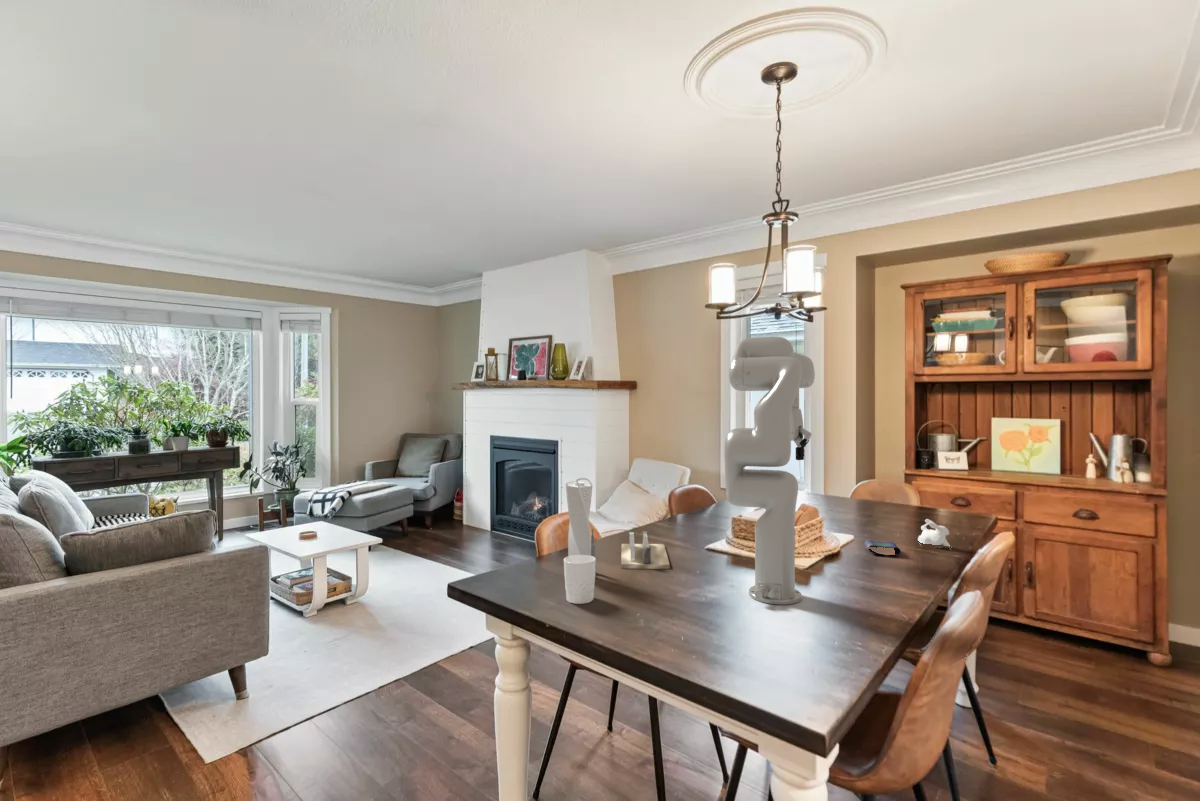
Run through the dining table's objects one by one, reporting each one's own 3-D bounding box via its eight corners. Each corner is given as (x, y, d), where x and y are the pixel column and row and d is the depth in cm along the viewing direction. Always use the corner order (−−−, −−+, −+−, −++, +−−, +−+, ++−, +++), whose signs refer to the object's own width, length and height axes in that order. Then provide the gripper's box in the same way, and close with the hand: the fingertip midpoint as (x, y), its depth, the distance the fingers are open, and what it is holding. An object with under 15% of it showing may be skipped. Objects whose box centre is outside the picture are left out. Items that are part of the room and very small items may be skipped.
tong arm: (633, 546, 188) (633, 532, 188) (634, 561, 170) (634, 546, 170) (629, 546, 188) (629, 532, 188) (630, 561, 170) (629, 546, 170)
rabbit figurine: (957, 551, 185) (957, 521, 185) (940, 554, 182) (940, 523, 182) (924, 543, 196) (924, 514, 196) (908, 545, 194) (908, 516, 194)
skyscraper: (595, 582, 156) (594, 478, 156) (565, 582, 156) (564, 478, 156) (596, 573, 164) (595, 474, 164) (567, 573, 164) (567, 474, 164)
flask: (868, 544, 180) (863, 538, 190) (868, 554, 180) (863, 547, 190) (901, 547, 178) (894, 540, 188) (901, 557, 177) (894, 549, 188)
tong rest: (663, 548, 191) (663, 530, 191) (669, 569, 167) (669, 549, 167) (621, 548, 191) (621, 530, 191) (621, 569, 167) (621, 548, 167)
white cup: (597, 594, 146) (597, 554, 146) (594, 605, 138) (593, 563, 138) (566, 593, 147) (566, 554, 147) (561, 604, 139) (561, 563, 139)
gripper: (757, 404, 188) (757, 457, 188) (802, 404, 173) (802, 461, 173) (772, 404, 192) (772, 456, 192) (817, 404, 178) (818, 460, 177)
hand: (786, 458), depth 183 cm, fingers open, 9 cm apart
